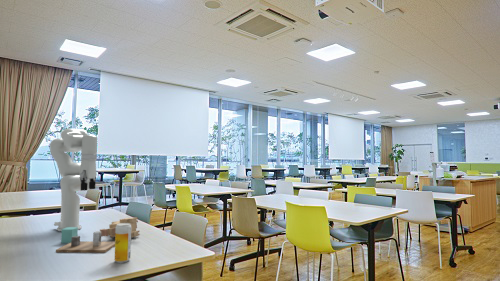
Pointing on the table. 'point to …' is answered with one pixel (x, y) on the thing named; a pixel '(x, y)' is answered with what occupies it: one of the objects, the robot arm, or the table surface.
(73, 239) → the stand
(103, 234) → the toy
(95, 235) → the tall post
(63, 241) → the teal block
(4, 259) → the table surface
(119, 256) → the beer can
